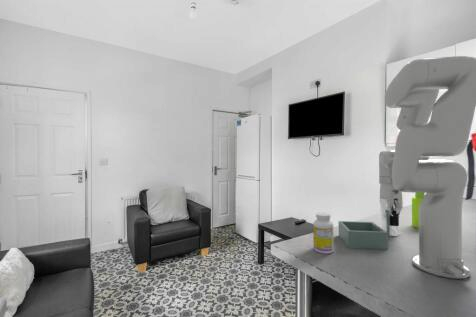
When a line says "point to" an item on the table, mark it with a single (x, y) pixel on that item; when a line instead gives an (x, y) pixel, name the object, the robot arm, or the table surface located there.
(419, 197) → the soap dispenser
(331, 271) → the table surface
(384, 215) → the beer glass
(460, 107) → the robot arm
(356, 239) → the box
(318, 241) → the supplement bottle
